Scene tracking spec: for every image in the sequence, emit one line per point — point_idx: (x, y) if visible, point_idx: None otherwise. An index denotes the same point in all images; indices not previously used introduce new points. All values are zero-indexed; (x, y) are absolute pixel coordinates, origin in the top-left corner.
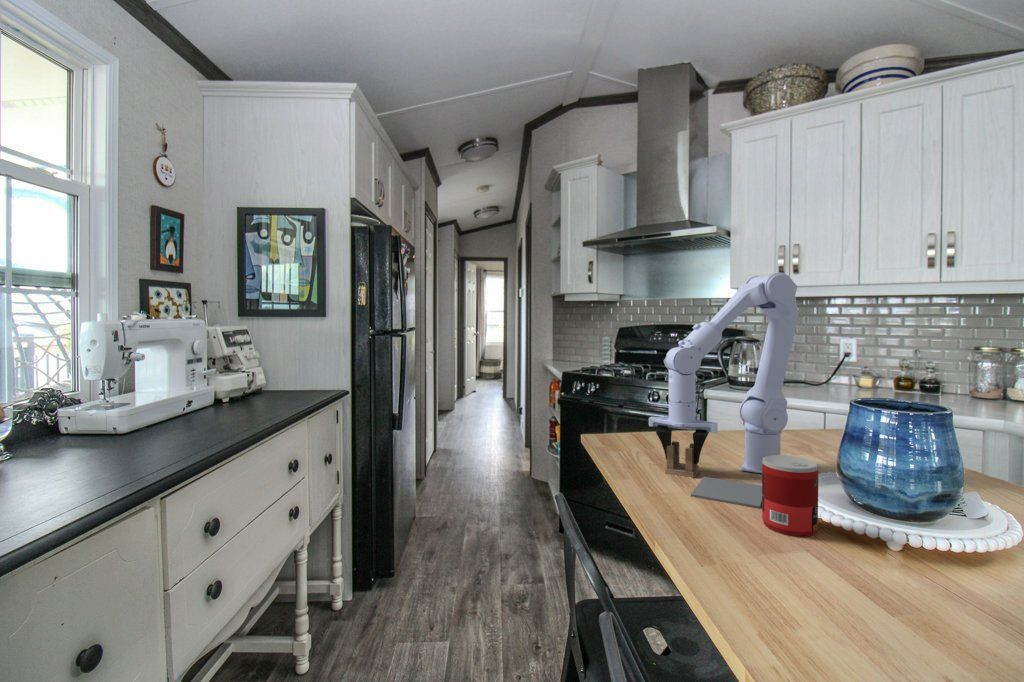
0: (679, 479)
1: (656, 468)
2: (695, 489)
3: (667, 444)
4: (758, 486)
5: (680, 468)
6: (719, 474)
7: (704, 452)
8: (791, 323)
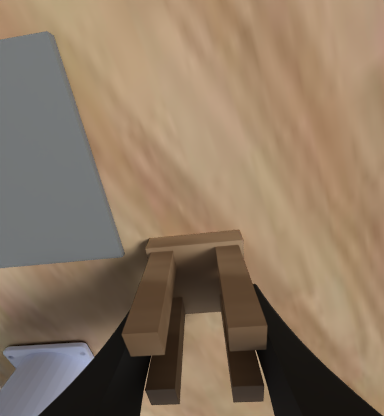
0: (179, 206)
1: (280, 262)
2: (70, 112)
3: (272, 351)
4: None
5: (198, 268)
6: (111, 301)
7: (208, 401)
8: None
